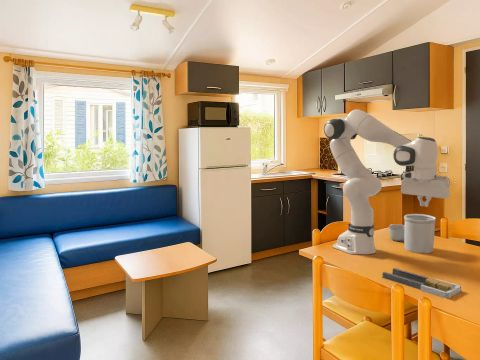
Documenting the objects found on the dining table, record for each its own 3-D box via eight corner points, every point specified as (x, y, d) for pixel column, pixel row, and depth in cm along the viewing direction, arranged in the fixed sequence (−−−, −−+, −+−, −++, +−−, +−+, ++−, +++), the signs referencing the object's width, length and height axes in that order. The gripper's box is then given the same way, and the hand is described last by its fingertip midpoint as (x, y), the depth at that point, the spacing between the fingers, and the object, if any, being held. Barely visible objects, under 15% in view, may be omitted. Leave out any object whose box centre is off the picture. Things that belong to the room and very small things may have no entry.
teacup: (412, 242, 216) (412, 228, 215) (392, 242, 216) (392, 228, 215) (402, 236, 230) (402, 222, 229) (383, 236, 230) (383, 223, 229)
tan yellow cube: (424, 287, 150) (425, 279, 150) (429, 285, 153) (431, 277, 152) (434, 292, 147) (435, 283, 147) (439, 289, 150) (441, 281, 149)
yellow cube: (436, 292, 147) (436, 283, 147) (441, 289, 149) (442, 281, 149) (446, 295, 144) (447, 286, 143) (452, 293, 146) (452, 284, 146)
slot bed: (381, 279, 162) (381, 272, 162) (395, 274, 168) (395, 267, 168) (421, 292, 149) (421, 284, 148) (434, 285, 155) (434, 278, 154)
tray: (420, 292, 148) (420, 285, 148) (434, 285, 155) (435, 278, 155) (447, 301, 140) (447, 293, 140) (461, 293, 147) (461, 285, 147)
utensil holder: (435, 255, 193) (437, 220, 191) (403, 252, 199) (404, 218, 197) (433, 247, 207) (434, 214, 205) (402, 244, 212) (403, 213, 210)
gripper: (453, 175, 161) (452, 208, 162) (407, 172, 177) (406, 202, 178) (446, 177, 157) (445, 210, 158) (399, 173, 173) (398, 204, 175)
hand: (424, 206), depth 169 cm, fingers closed
